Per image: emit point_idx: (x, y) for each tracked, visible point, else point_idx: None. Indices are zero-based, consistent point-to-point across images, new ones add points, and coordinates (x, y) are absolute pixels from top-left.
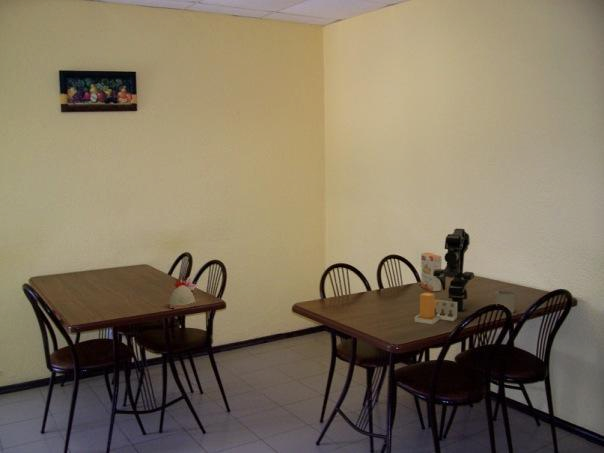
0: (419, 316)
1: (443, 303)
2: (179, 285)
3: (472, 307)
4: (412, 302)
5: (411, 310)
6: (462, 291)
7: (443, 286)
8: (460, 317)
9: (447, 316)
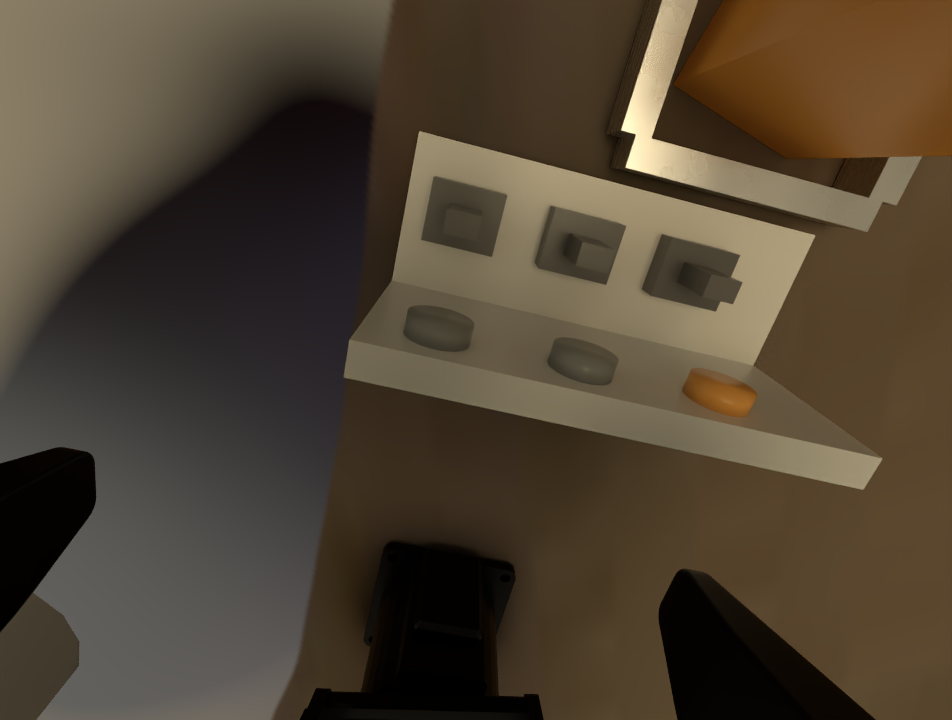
0: None
1: (602, 358)
2: None
3: None
4: None
5: (926, 470)
6: (24, 462)
7: (788, 683)
8: None
9: (503, 192)
